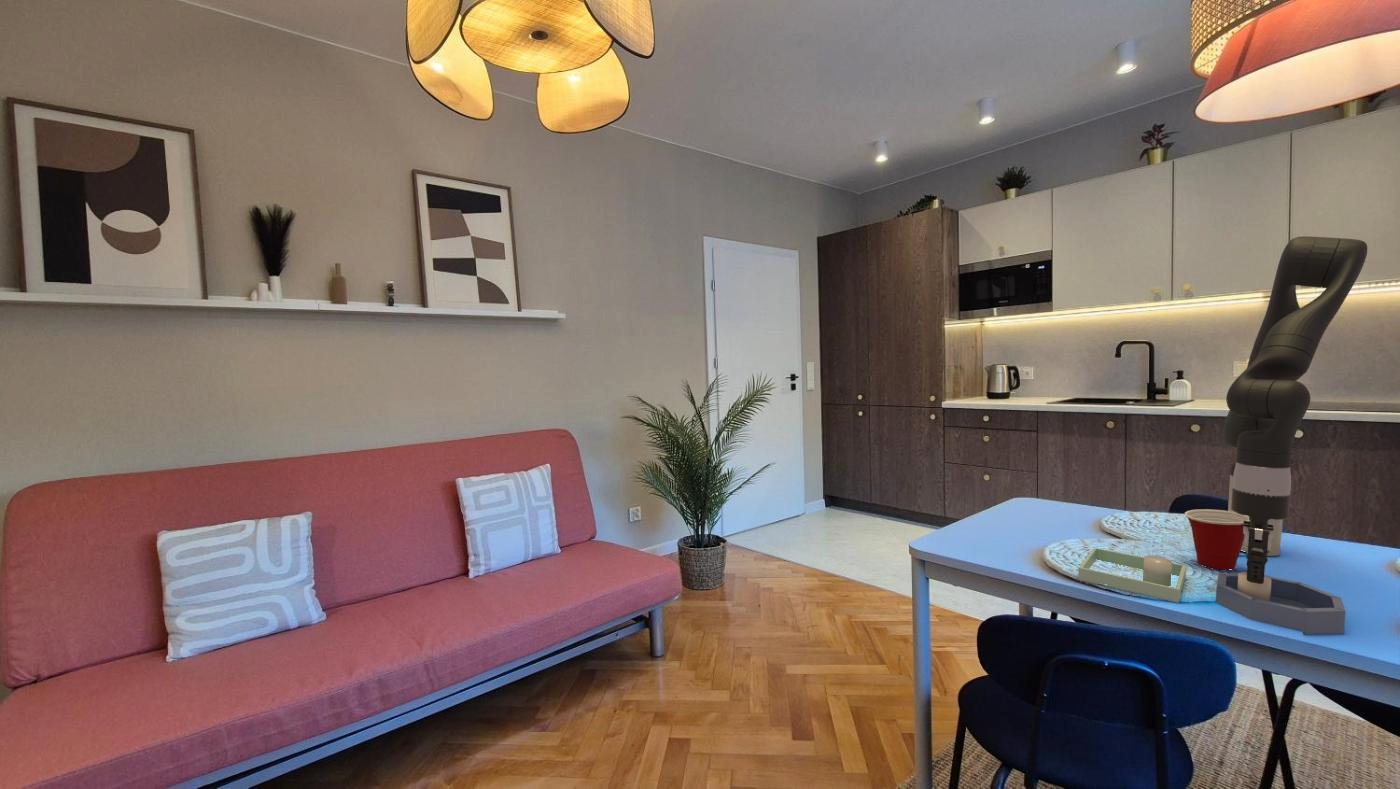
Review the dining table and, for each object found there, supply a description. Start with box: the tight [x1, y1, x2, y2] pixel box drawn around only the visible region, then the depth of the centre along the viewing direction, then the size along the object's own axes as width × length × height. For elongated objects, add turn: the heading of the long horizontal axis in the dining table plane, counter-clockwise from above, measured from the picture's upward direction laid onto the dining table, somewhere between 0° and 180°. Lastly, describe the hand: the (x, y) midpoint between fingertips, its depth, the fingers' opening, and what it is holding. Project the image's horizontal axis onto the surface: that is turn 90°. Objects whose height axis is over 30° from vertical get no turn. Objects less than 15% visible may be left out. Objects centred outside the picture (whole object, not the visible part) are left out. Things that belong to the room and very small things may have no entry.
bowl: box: [1215, 572, 1347, 636], centre depth 104 cm, size 16×16×4 cm
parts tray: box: [1077, 547, 1187, 604], centre depth 118 cm, size 16×16×3 cm
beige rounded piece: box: [1143, 555, 1173, 586], centre depth 115 cm, size 4×4×5 cm
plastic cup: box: [1184, 508, 1249, 571], centre depth 124 cm, size 11×11×12 cm
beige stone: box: [1237, 571, 1272, 602], centre depth 106 cm, size 4×4×5 cm
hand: (1254, 575), depth 105 cm, fingers open, 8 cm apart
